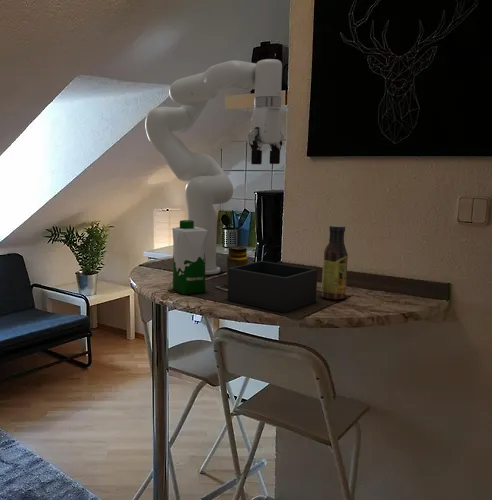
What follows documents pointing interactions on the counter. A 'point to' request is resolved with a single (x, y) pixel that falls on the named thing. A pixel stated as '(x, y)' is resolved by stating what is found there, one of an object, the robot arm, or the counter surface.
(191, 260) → the milk carton
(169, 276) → the counter surface
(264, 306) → the dark grey open box
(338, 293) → the sauce bottle
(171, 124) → the robot arm
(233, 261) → the condiment
